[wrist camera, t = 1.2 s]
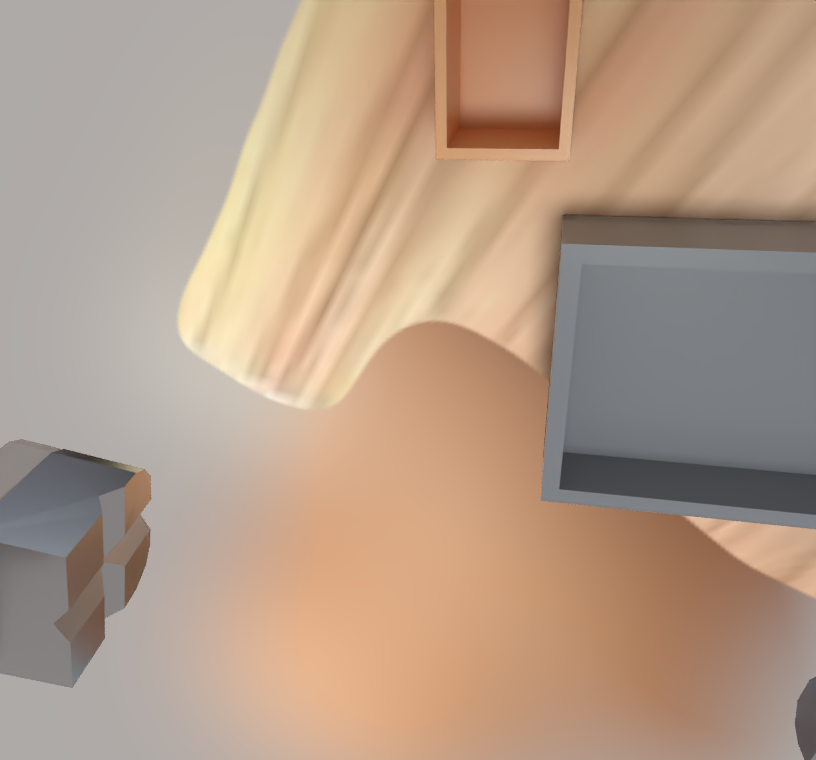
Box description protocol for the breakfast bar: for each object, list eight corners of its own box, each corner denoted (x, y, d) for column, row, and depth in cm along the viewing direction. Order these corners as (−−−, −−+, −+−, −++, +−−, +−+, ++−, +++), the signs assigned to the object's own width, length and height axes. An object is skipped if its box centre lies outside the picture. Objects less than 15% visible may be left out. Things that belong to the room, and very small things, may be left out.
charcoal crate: (988, 226, 33) (1042, 260, 30) (883, 486, 42) (914, 539, 38) (563, 214, 37) (562, 243, 33) (543, 455, 45) (540, 500, 41)
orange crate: (585, -50, 31) (587, -52, 27) (569, 137, 35) (569, 161, 31) (451, -44, 32) (433, -45, 28) (451, 136, 36) (435, 159, 32)
